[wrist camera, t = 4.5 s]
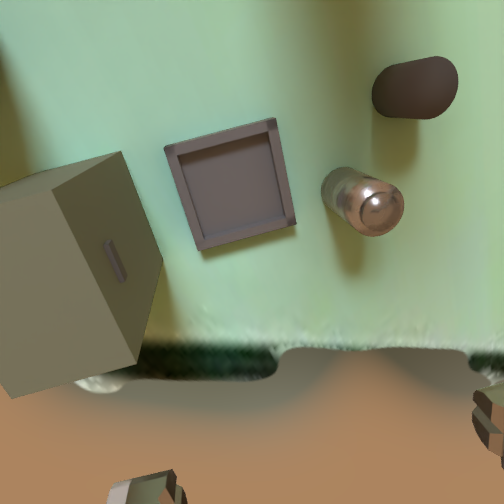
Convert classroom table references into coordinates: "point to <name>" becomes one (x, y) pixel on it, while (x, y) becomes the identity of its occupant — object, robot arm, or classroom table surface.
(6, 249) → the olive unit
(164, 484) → the robot arm
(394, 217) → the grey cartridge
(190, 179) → the tray
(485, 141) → the classroom table surface
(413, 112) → the cylinder
